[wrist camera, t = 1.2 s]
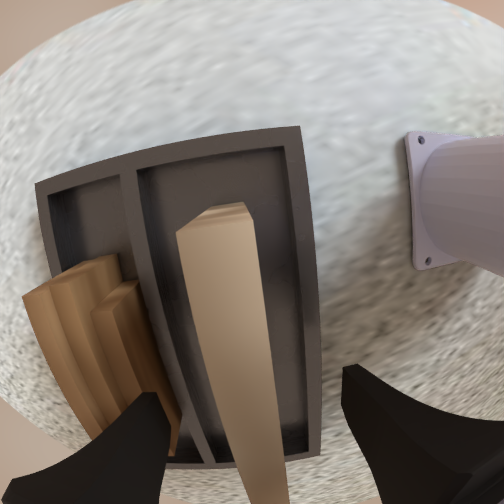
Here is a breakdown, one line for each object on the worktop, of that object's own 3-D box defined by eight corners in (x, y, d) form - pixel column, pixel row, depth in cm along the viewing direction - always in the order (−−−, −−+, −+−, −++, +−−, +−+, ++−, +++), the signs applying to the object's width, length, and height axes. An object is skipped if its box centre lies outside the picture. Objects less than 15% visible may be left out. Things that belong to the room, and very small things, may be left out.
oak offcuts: (135, 250, 13) (82, 286, 8) (185, 415, 16) (173, 481, 10) (83, 259, 13) (20, 293, 8) (140, 415, 16) (118, 475, 10)
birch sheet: (243, 201, 13) (253, 220, 5) (274, 422, 16) (292, 523, 9) (211, 206, 13) (175, 232, 5) (252, 424, 16) (261, 527, 8)
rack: (290, 135, 13) (300, 125, 11) (313, 434, 18) (320, 455, 15) (57, 182, 13) (34, 183, 11) (147, 447, 17) (141, 466, 15)
